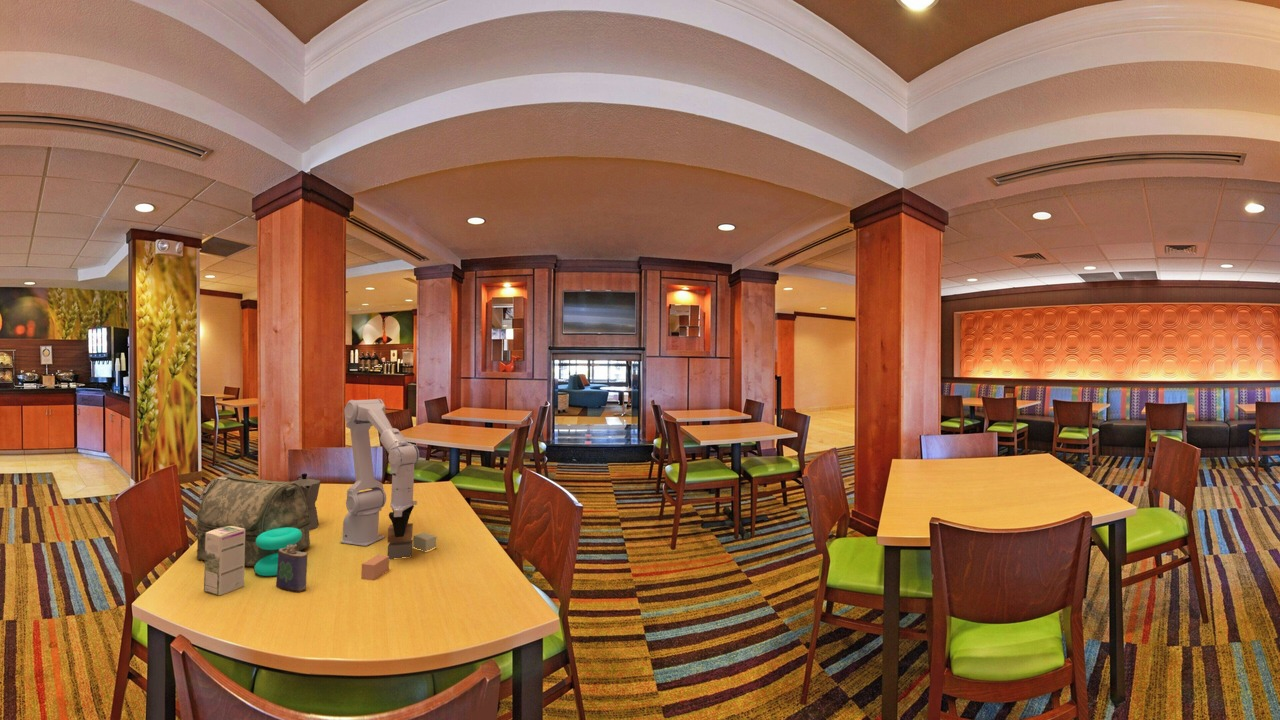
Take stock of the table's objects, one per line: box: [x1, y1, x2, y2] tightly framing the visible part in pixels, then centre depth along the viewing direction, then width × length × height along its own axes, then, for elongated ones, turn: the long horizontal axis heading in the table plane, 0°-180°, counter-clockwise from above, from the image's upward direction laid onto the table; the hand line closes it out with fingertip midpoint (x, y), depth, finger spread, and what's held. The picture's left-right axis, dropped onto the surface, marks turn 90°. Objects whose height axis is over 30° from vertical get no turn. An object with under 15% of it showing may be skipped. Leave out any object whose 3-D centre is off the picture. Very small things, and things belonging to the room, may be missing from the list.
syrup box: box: [203, 526, 245, 596], centre depth 118 cm, size 6×6×14 cm
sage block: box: [412, 531, 437, 551], centre depth 147 cm, size 6×4×4 cm, turn 60°
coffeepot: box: [291, 473, 321, 531], centre depth 161 cm, size 15×9×18 cm, turn 44°
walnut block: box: [387, 523, 414, 544], centre depth 141 cm, size 6×4×4 cm, turn 108°
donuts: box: [253, 527, 302, 577], centre depth 129 cm, size 10×10×10 cm
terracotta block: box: [360, 554, 390, 581], centre depth 129 cm, size 6×4×4 cm, turn 172°
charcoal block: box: [386, 539, 413, 560], centre depth 141 cm, size 6×4×4 cm, turn 108°
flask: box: [275, 544, 308, 593], centre depth 120 cm, size 9×3×11 cm, turn 68°
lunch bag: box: [194, 473, 311, 567], centre depth 139 cm, size 26×18×22 cm
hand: (400, 534), depth 141 cm, fingers closed on walnut block, 3 cm apart
